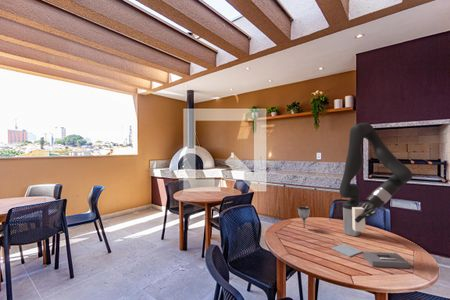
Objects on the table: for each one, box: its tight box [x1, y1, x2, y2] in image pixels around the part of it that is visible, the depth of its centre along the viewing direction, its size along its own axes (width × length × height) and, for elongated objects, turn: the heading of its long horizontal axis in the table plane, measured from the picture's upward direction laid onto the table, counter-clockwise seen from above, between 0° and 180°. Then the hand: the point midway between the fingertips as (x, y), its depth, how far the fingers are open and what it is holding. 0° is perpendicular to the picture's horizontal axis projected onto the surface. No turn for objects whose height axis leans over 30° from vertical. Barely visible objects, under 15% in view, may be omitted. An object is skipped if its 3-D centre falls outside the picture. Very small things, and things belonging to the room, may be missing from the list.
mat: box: [330, 243, 364, 258], centre depth 122 cm, size 11×11×1 cm
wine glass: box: [297, 206, 311, 228], centre depth 157 cm, size 8×8×15 cm
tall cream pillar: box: [352, 207, 366, 232], centre depth 117 cm, size 5×4×12 cm
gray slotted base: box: [362, 251, 411, 269], centre depth 109 cm, size 16×10×3 cm, turn 81°
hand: (354, 219), depth 118 cm, fingers closed on tall cream pillar, 3 cm apart
